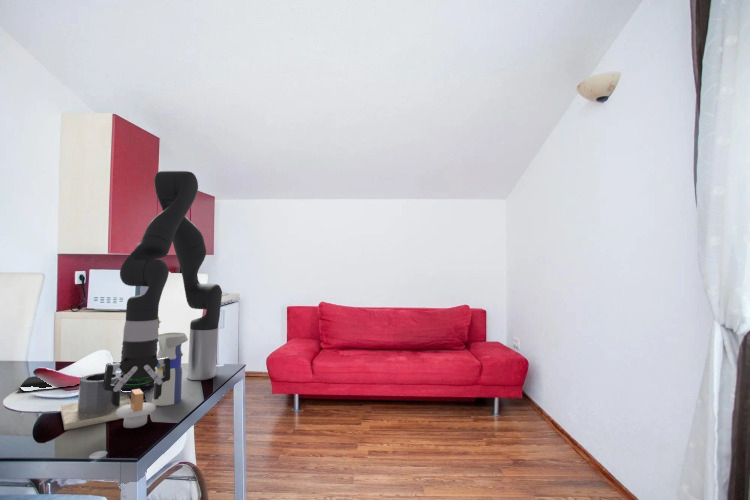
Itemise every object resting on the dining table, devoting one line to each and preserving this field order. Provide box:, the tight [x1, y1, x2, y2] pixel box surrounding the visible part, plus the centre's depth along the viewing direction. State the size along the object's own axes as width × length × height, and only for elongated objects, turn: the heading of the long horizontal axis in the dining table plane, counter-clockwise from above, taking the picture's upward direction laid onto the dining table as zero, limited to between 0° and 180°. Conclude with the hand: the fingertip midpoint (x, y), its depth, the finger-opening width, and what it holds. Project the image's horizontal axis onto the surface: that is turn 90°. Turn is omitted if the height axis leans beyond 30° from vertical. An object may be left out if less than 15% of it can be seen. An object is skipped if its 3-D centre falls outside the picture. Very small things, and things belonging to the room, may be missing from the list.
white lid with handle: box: [116, 389, 156, 429], centre depth 96 cm, size 8×8×8 cm
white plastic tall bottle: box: [151, 316, 189, 406], centre depth 112 cm, size 8×9×25 cm
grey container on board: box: [60, 371, 131, 431], centre depth 101 cm, size 15×15×10 cm
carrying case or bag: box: [18, 375, 52, 393], centre depth 122 cm, size 11×3×15 cm
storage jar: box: [119, 342, 156, 393], centre depth 122 cm, size 10×10×15 cm
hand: (136, 402), depth 96 cm, fingers open, 8 cm apart
